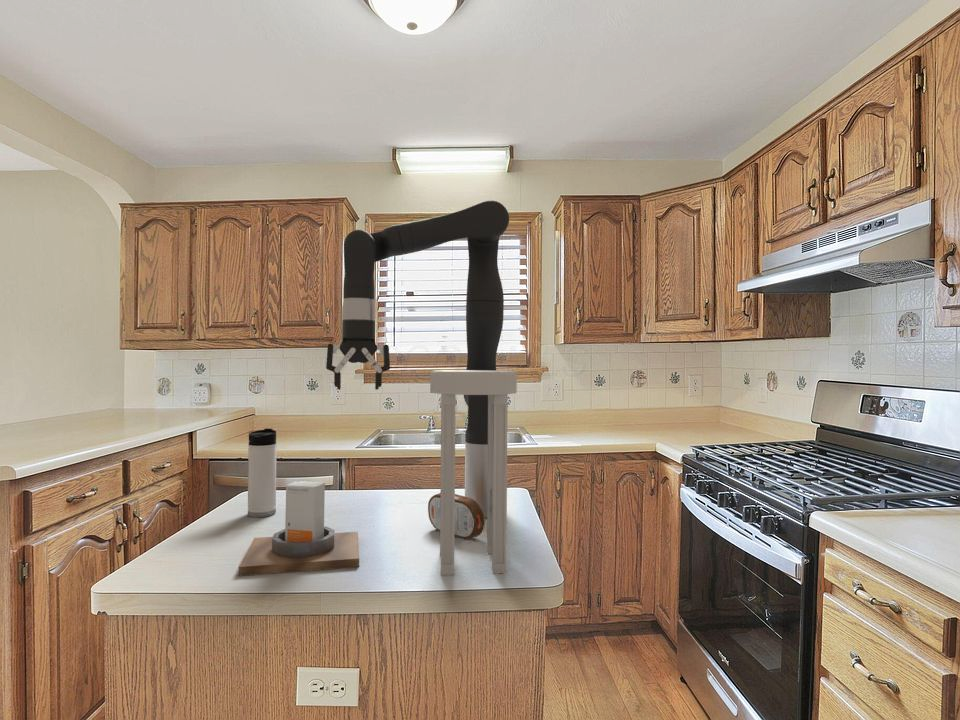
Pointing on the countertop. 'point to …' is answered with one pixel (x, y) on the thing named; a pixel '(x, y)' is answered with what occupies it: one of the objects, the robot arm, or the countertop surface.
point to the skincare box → (304, 511)
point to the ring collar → (302, 545)
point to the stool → (497, 391)
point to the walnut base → (267, 562)
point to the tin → (459, 516)
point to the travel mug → (262, 473)
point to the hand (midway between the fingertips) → (358, 389)
